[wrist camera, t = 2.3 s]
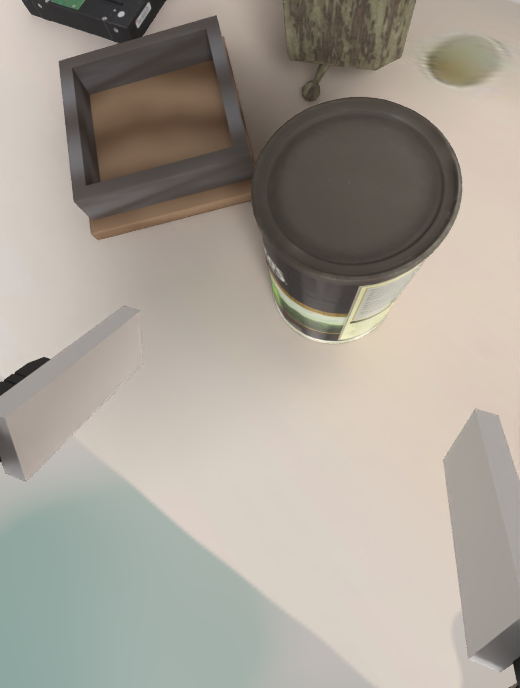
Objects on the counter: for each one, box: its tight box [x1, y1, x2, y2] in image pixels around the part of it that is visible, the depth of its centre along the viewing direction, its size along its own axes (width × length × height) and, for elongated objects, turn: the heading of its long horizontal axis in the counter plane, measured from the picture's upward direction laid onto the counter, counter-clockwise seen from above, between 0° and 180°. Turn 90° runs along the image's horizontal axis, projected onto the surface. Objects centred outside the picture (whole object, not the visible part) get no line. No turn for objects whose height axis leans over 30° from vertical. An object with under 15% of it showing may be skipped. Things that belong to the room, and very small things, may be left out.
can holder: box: [59, 15, 255, 240], centre depth 36 cm, size 18×16×4 cm
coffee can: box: [251, 97, 462, 344], centre depth 26 cm, size 10×10×14 cm
